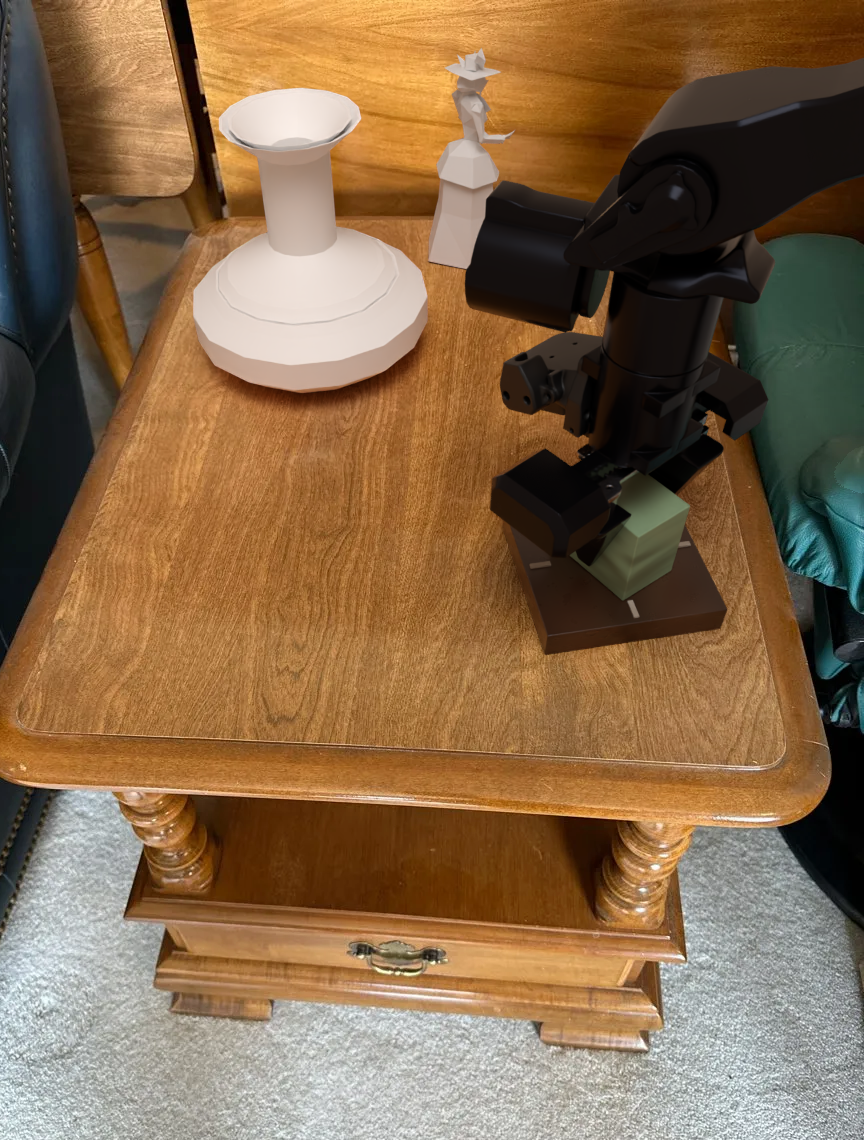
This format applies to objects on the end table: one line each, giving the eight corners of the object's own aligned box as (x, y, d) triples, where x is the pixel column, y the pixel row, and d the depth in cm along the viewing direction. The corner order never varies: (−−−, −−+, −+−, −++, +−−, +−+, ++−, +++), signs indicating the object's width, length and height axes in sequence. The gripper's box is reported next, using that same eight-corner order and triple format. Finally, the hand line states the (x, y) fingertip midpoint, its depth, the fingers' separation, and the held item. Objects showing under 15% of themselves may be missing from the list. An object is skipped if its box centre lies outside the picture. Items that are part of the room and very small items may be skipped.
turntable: (660, 504, 71) (666, 483, 69) (720, 628, 63) (728, 607, 62) (501, 527, 70) (503, 505, 68) (544, 655, 62) (547, 634, 61)
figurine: (516, 248, 93) (532, 44, 79) (453, 278, 90) (458, 72, 76) (469, 221, 97) (476, 21, 83) (407, 248, 94) (403, 46, 80)
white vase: (418, 423, 77) (415, 188, 62) (178, 414, 79) (119, 184, 64) (435, 286, 90) (436, 61, 75) (227, 281, 92) (187, 61, 76)
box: (671, 570, 64) (692, 502, 59) (622, 601, 62) (639, 534, 58) (599, 512, 68) (612, 443, 63) (551, 540, 66) (560, 472, 61)
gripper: (654, 227, 59) (615, 425, 72) (428, 348, 53) (427, 544, 65) (806, 303, 54) (735, 503, 66) (577, 449, 47) (545, 642, 59)
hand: (610, 543), depth 64 cm, fingers closed on box, 4 cm apart
